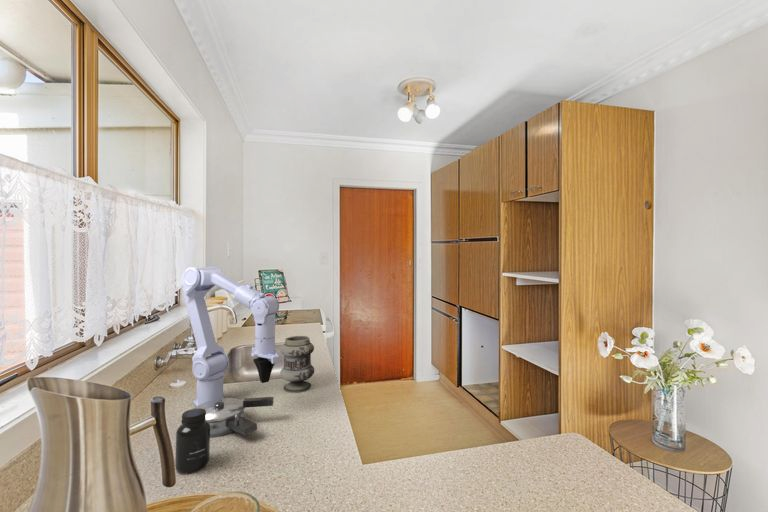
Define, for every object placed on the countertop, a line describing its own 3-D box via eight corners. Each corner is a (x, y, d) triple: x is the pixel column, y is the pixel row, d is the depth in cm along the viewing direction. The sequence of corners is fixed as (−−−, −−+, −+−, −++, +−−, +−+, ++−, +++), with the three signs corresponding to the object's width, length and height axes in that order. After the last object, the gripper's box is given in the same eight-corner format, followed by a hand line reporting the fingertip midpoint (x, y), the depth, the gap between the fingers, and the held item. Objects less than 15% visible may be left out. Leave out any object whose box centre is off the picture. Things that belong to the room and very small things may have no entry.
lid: (183, 423, 90) (183, 414, 90) (200, 402, 103) (200, 393, 103) (269, 417, 94) (270, 408, 94) (275, 397, 107) (275, 389, 107)
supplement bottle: (194, 476, 75) (195, 421, 75) (167, 472, 76) (168, 417, 76) (216, 458, 82) (216, 407, 82) (191, 455, 83) (191, 404, 83)
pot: (183, 428, 96) (183, 404, 96) (227, 411, 107) (227, 389, 107) (227, 452, 84) (227, 425, 84) (271, 430, 95) (271, 406, 95)
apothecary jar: (295, 379, 135) (296, 332, 135) (321, 385, 129) (321, 336, 129) (272, 390, 124) (273, 339, 124) (299, 396, 118) (299, 343, 118)
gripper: (242, 334, 108) (241, 378, 108) (262, 343, 98) (262, 392, 98) (264, 331, 113) (263, 373, 113) (286, 339, 103) (285, 385, 103)
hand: (264, 381), depth 106 cm, fingers closed
